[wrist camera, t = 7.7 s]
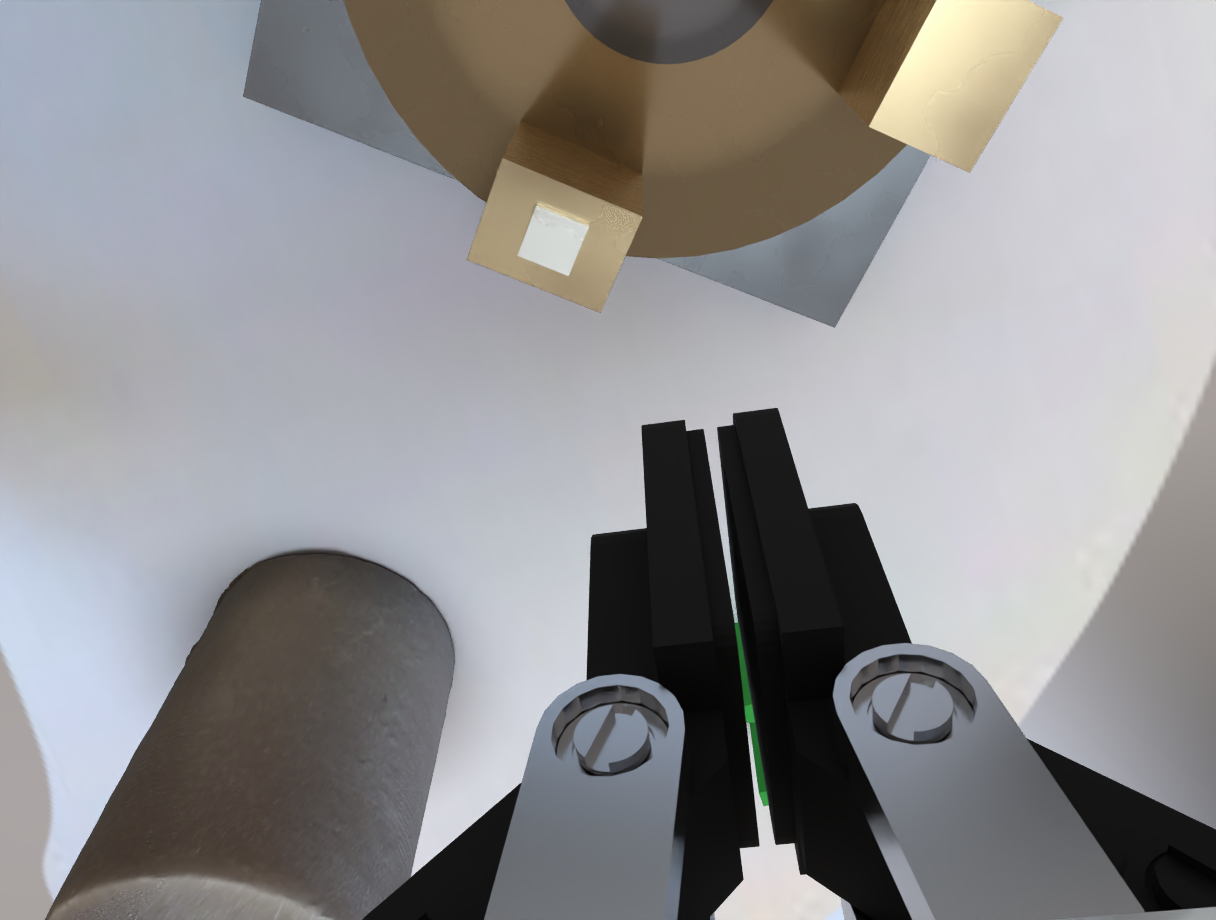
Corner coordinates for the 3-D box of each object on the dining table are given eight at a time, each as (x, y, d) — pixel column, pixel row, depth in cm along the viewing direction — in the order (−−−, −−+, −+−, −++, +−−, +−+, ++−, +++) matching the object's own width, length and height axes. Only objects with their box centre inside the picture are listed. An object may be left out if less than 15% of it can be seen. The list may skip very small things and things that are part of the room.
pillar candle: (164, 637, 38) (-68, 1022, 26) (321, 503, 35) (143, 873, 22) (352, 765, 42) (231, 1158, 29) (512, 656, 39) (453, 1049, 26)
